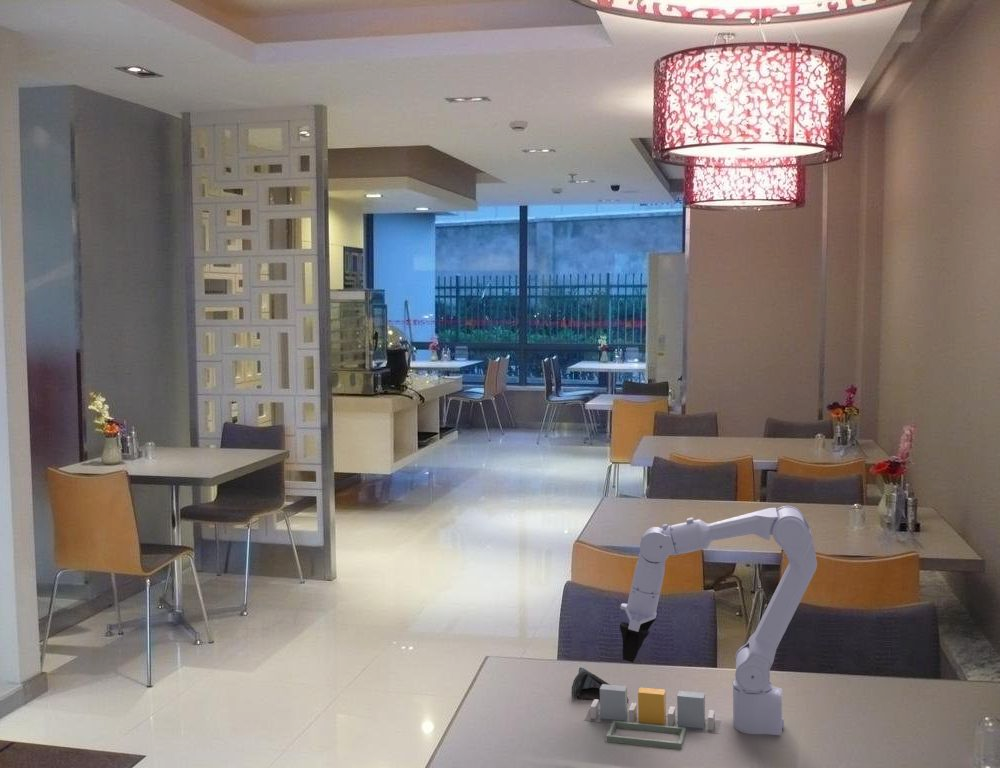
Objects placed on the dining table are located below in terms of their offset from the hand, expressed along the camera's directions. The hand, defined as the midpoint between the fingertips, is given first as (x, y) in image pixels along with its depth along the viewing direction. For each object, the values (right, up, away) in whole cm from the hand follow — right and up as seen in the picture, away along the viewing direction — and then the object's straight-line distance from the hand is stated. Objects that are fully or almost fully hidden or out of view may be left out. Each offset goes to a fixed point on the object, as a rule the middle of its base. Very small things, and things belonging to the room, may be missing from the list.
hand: (631, 653), depth 200 cm
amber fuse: (+4, -13, 0) cm, 14 cm away
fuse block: (+4, -14, 0) cm, 15 cm away
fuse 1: (-3, -13, +2) cm, 14 cm away
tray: (+2, -15, -7) cm, 17 cm away
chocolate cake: (-4, -14, +13) cm, 20 cm away
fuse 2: (+11, -13, -2) cm, 17 cm away
